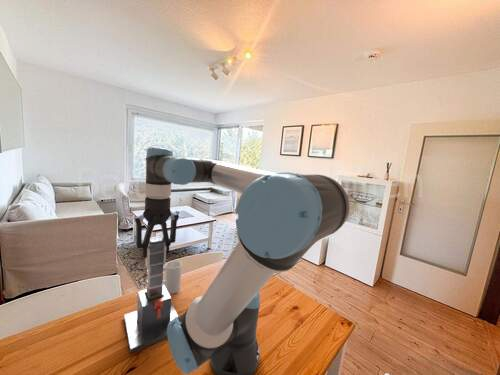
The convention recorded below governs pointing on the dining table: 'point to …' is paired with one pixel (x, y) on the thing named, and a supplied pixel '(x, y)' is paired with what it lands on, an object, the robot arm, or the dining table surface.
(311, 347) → the dining table surface
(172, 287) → the mug
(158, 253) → the column
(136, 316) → the sleeve
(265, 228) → the robot arm
